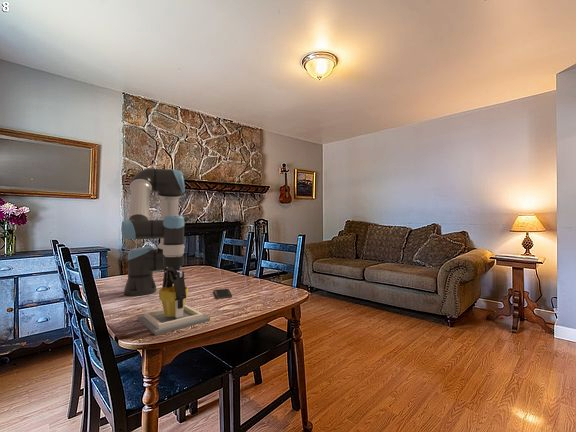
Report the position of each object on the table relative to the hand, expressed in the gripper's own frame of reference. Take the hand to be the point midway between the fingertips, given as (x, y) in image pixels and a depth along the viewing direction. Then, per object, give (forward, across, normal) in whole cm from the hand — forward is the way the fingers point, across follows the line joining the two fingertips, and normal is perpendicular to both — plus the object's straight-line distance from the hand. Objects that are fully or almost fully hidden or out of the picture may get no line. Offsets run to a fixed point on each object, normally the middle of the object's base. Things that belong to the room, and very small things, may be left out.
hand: (173, 313), depth 113 cm
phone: (+3, +20, -33) cm, 39 cm away
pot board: (+3, 0, 0) cm, 3 cm away
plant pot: (+1, 0, 0) cm, 1 cm away
